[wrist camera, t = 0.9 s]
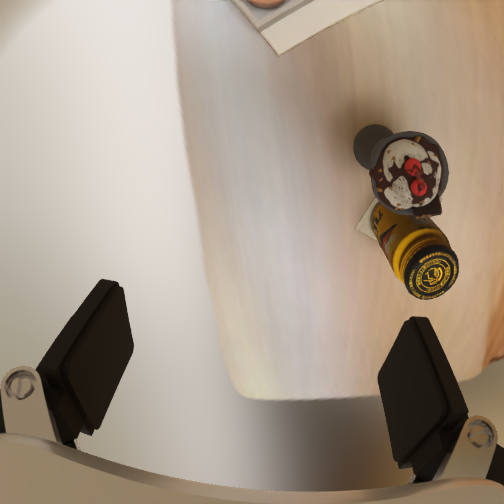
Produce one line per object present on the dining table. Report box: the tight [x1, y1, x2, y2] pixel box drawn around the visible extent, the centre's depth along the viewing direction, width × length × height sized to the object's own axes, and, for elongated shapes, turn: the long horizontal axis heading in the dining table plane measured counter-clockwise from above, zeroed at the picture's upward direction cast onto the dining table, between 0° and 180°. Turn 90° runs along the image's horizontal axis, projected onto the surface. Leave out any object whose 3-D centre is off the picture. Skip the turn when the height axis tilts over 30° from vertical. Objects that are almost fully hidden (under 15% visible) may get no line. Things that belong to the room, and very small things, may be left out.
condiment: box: [355, 197, 459, 300], centre depth 28 cm, size 7×8×12 cm
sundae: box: [354, 125, 449, 219], centre depth 24 cm, size 7×7×15 cm
